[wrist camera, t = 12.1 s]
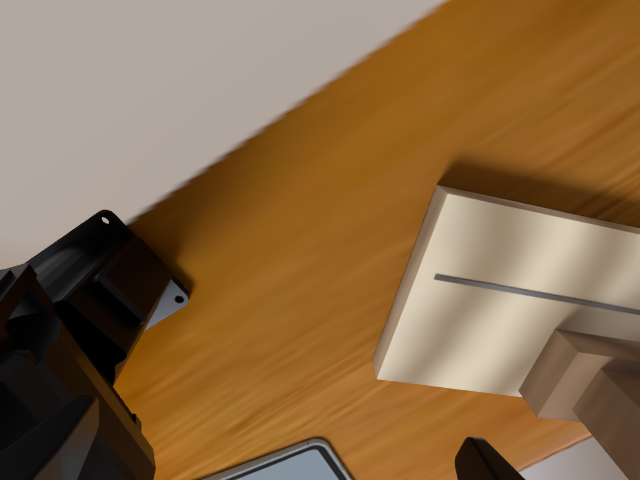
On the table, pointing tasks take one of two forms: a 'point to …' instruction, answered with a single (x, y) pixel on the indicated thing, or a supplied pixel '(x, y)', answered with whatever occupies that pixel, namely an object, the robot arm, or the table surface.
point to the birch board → (504, 291)
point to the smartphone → (291, 465)
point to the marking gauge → (591, 390)
